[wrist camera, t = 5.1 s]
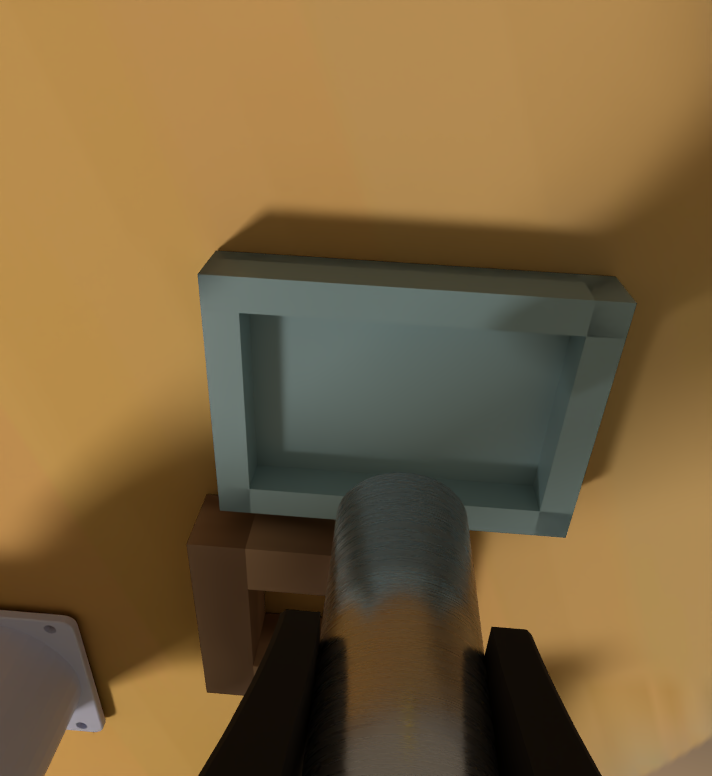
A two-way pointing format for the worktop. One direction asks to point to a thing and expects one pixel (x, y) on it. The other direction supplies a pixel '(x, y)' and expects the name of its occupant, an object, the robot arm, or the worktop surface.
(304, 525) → the holder
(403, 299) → the tray
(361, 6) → the worktop surface
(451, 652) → the pin
